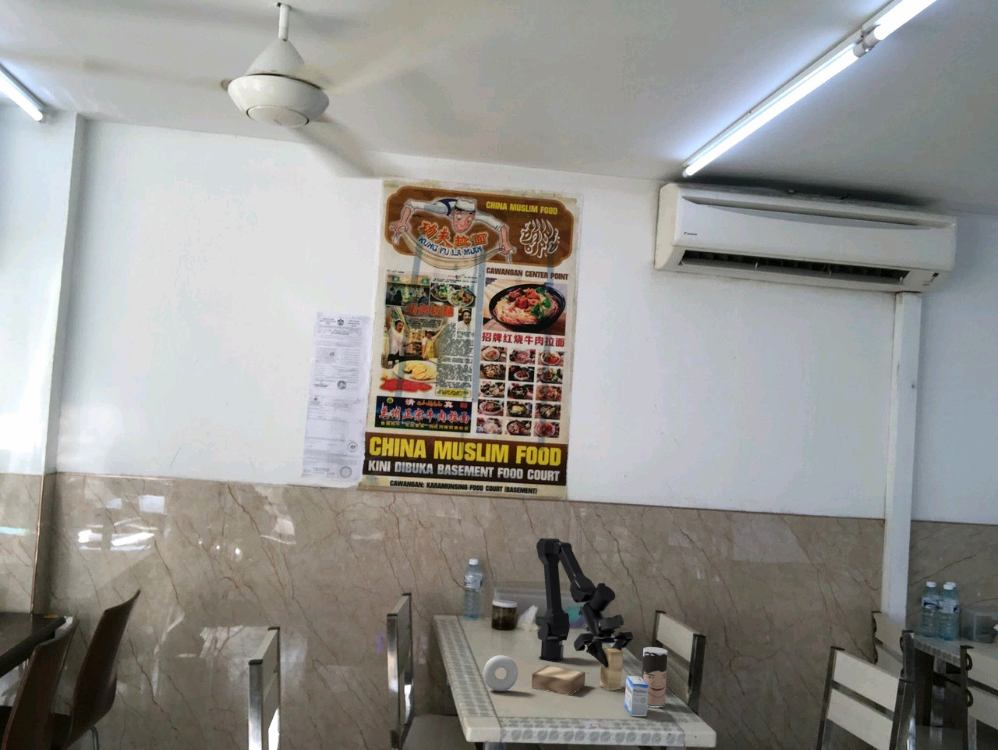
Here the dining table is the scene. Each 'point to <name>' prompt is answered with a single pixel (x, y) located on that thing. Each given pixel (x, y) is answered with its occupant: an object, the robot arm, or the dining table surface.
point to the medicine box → (636, 695)
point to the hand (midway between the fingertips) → (614, 666)
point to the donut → (507, 680)
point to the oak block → (612, 669)
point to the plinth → (558, 679)
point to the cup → (655, 674)
